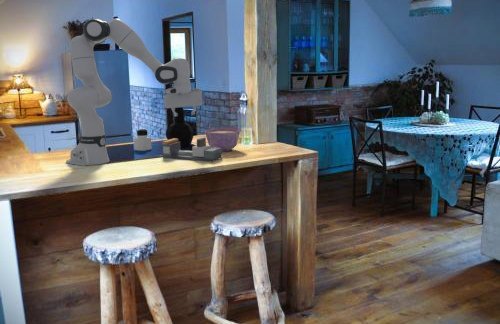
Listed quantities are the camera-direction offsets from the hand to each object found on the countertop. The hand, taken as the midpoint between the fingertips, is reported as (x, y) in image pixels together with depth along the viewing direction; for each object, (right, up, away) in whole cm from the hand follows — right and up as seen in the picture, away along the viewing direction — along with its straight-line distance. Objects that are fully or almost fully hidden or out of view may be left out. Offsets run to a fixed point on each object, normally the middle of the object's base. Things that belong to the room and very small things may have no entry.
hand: (184, 115), depth 261 cm
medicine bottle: (-28, -18, +28) cm, 44 cm away
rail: (+4, -22, +2) cm, 23 cm away
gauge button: (-8, -14, +6) cm, 17 cm away
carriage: (+9, -21, -1) cm, 23 cm away
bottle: (-8, -15, +40) cm, 43 cm away
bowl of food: (+19, -18, +22) cm, 34 cm away
